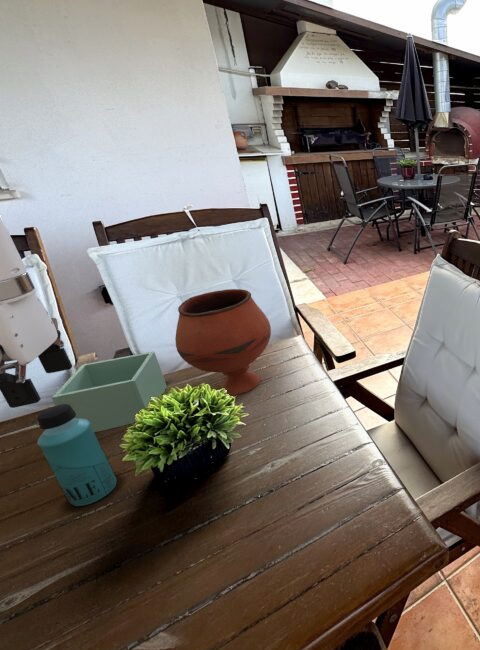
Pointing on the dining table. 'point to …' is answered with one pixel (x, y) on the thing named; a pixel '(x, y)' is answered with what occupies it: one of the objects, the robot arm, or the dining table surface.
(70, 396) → the bin
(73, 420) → the beverage bottle
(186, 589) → the dining table surface
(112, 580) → the dining table surface
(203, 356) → the goblet
